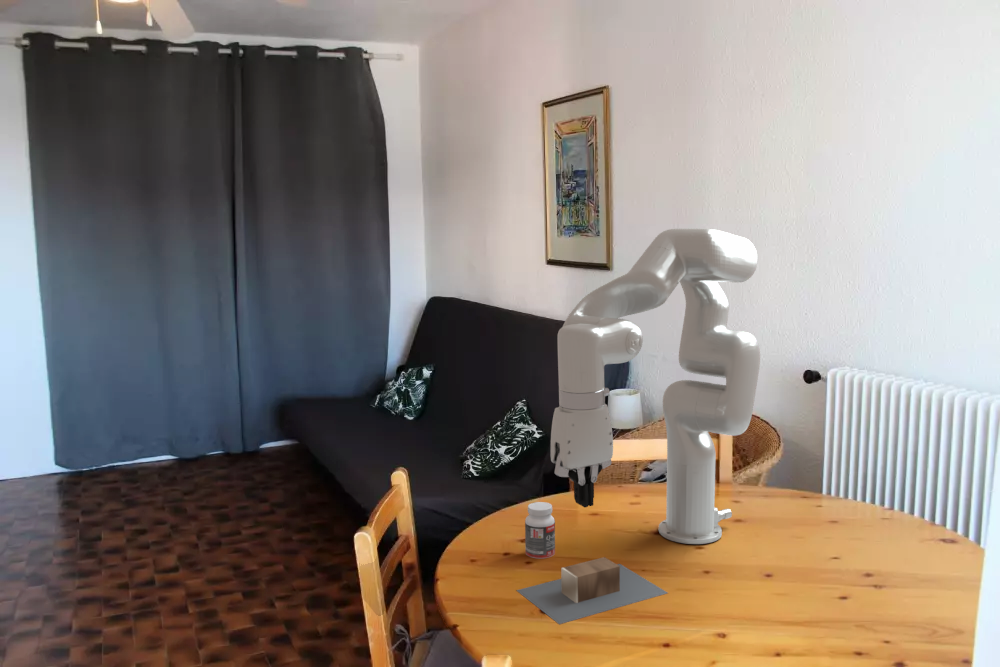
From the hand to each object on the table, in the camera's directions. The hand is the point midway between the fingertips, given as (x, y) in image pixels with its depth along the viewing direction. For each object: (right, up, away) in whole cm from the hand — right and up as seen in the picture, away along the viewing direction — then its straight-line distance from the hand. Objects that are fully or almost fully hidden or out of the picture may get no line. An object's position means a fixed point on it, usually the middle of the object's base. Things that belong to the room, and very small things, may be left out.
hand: (584, 503), depth 143 cm
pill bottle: (-7, -14, +20) cm, 25 cm away
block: (-3, -14, 0) cm, 14 cm away
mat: (+2, -16, +3) cm, 17 cm away
